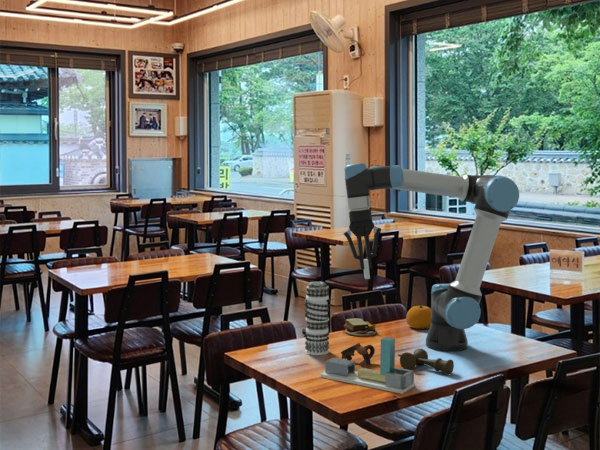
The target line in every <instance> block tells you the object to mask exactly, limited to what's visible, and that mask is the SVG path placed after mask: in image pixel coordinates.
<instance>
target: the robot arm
mask: <svg viewBox="0 0 600 450" xmlns="http://www.w3.org/2000/svg"><path fill="white" fill-rule="evenodd" d="M344 180H345V190H346V196H347V197H346V199H347V205H348V207H347V208H348V210H350V211H348V217H349V218H348V219H349V226H348V229H346V230H345V231H344V232H343V233H342V234H343V235H344V237H345V238H346V240H347V242H348V245H349V248H350V251H351V253H352V257H353V258H354V260H359V268H360V270H363V276H364V277H363V278H364V279H365V280H370V279H371V276H370V274H371V273H370V269H372V268H373V264H372V259H373V258H375V257H376V256H377V251H378V245H379V236H380V234H381V233H382V232H381V231H382V229H381V227H378V226H375V223H374V222H373V216H372V210H371V209H370V208H371V197H370V191H376V190H388V189H393V190H399V191H400V190H401V191H406V192H407V191H408V192H414V193H415V192H416V193H422V194H428V195H435V196H443V197H450V198H457V199H459V201H460V202H467V203H469V204H470V203H471V204H475V205H474V208H473V210H474V212H475V214H476V215H475V216H476V217H475V219H474V222H473V225H472V228H471V232H470V234H469V238H468V241H467V243H466V247H465V250H464V253H463V256H462V258H461V259H462V260H461V262H460V265H459V268H458V271H457V274H456V277H455V279H454V281H452V282H450V283H436V284H433V285H432V286H431V292H430V294H431V301H430V304H431V305H430V309H431V326H430V328H428V331H427V335H426V338H425V346H426V347H427V348H429V349H432V350H437V351H444V352H447V351H448V352H454V351H455V352H458V351H462V350H463V349H464V350H466V349H467V348H468V347H469V346H468V343H469V341H468V337H467V333H466V331H465V330H467V329H470V328H471V327H473V326H475V325H476V324H477V323H478V321H479V320H480V318H481V313H482V311H481V307H480V303H481V299H482V296H483V294H482V292H481V289H480V288H481V285H482V282H483V279H484V276H485V272H486V269H487V266H488V263H489V260H490V257H491V254H492V251H493V249H494V246H495V243H496V240H497V236H498V233H499V230H500V227H501V224H502V222H505V221H506V220H508V217H509V215H510V213H511V210H513V209H514V208H515V207H516V206H517V204H518V203H519V199H520V190H519V186H517V184H516V182H515V181H514V180H512V179H511V178H509V177H507V176H505V175H504V176H503V175H493V174H484V175H479V174H478V175H472V174H464V175H462V176H458V175H451V174H450V175H449V174H444V173H438V172H437V173H436V172H429V171H421V170H414V169H407V168H402V166H401V165H398V164H397V165H393V164H392V165H386V166H384V165H379V164H376V165H372V166H370V167H367V164H366V163H365V162H362V163H360V162H359V163H354V164H353V163H352V164H347V165H345V167H344ZM372 231H373V233H374V234H373V241H372V248H371V245H370V234H371V233H372ZM352 234H353V235H354V236H355V237H356V243H357V249H356V248H355V245H354V244H355V243H354V241H353V239H352ZM362 238H363V239H364V246H365V247H364V248H365V255H366V256H365V257H366V258H364V250H363V240H362ZM357 250H358V251H357ZM357 252H358V253H357Z"/></svg>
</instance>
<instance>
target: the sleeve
mask: <svg viewBox="0 0 600 450" xmlns="http://www.w3.org/2000/svg"><path fill="white" fill-rule="evenodd" d="M324 363H325V368H324V372H325V373H329V374H334V375H339V376H344V377H348V373H353V374H354V373H355V371H356V361H354V360H351V361H350V360H347V359H342V358H338V357H332V358H330V359H326V360H325V362H324Z"/></svg>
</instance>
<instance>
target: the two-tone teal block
mask: <svg viewBox="0 0 600 450" xmlns="http://www.w3.org/2000/svg"><path fill="white" fill-rule="evenodd" d="M395 350H396V338H395V337H389V336H384V337H383V338H380V362H379V363H380V364H379V365H380V366H379V367H380V368H379V369H380V370H377V369H371V368H367V367H365V368H362V367H361V368H358V369H357V371H358V377H360V378H365V379H370V380H375V381H380V382H385V380H386V373H387V372H391V373H394V372H395V368H396V367H395V362H396V351H395Z"/></svg>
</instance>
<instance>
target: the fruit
mask: <svg viewBox="0 0 600 450" xmlns="http://www.w3.org/2000/svg"><path fill="white" fill-rule="evenodd" d="M405 316H406V317H405V320H406V324H407V325H408V326H409V327H410V328H413V329H416V330H427V329H428V330H429V328H430V326H431V307H429V306H426V305H423V303H420V305H414V306H412V307H410V309H408V311H407V313H406V315H405Z"/></svg>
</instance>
